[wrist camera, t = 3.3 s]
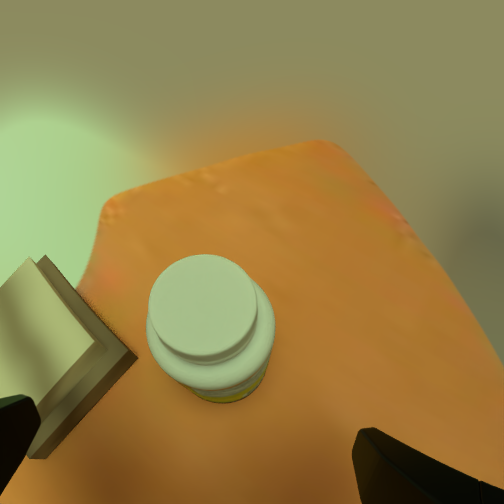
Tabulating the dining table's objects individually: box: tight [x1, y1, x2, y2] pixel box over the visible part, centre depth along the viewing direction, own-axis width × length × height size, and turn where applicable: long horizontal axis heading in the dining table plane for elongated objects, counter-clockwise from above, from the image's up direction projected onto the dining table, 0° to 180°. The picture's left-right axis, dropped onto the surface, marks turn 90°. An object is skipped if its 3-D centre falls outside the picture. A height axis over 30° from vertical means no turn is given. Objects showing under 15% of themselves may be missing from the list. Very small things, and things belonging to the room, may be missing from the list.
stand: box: [0, 255, 138, 459], centre depth 18 cm, size 11×11×4 cm
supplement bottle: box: [146, 254, 275, 403], centre depth 16 cm, size 6×6×10 cm
